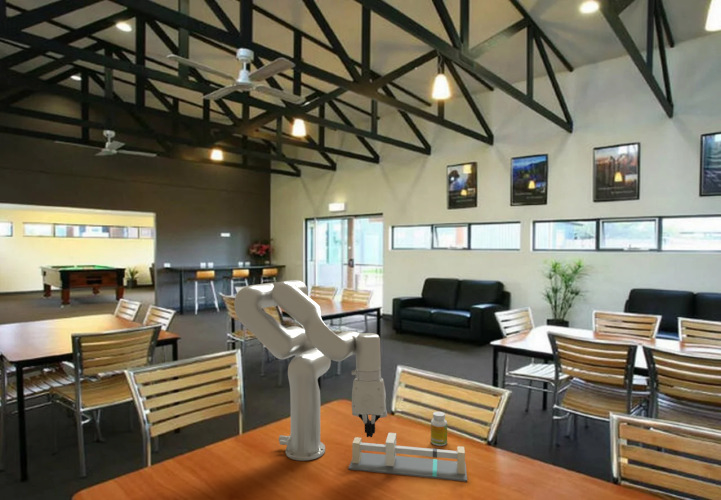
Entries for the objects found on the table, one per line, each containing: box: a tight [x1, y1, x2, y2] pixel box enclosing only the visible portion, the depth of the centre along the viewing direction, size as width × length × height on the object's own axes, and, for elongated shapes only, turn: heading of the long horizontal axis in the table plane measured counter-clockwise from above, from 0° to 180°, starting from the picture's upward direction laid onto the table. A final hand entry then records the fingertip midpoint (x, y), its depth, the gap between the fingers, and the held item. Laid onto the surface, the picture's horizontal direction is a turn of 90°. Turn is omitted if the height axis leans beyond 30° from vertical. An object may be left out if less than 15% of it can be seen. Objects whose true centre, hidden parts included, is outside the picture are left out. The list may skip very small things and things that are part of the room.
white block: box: [385, 432, 397, 466], centre depth 126 cm, size 2×7×7 cm, turn 169°
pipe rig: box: [348, 436, 468, 482], centre depth 125 cm, size 34×10×6 cm, turn 79°
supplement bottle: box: [430, 411, 448, 447], centre depth 141 cm, size 5×5×10 cm
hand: (370, 435), depth 128 cm, fingers closed
